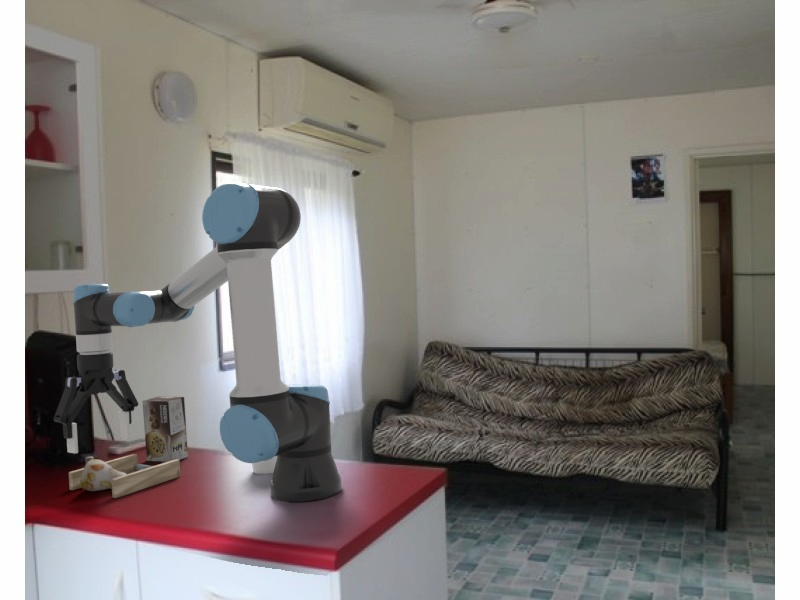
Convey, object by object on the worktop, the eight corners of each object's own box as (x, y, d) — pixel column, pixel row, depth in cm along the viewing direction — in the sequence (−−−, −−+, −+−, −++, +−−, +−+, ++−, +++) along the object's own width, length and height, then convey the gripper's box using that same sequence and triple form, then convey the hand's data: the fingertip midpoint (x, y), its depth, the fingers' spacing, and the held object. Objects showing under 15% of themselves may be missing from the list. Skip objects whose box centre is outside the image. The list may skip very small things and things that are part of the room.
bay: (180, 476, 174) (179, 459, 174) (116, 497, 159) (114, 479, 159) (134, 469, 183) (133, 453, 183) (69, 489, 168) (68, 472, 167)
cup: (291, 465, 179) (289, 417, 179) (278, 475, 170) (275, 424, 170) (257, 465, 181) (254, 417, 181) (242, 475, 172) (239, 425, 172)
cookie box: (189, 456, 194) (185, 396, 193) (172, 463, 188) (168, 400, 187) (162, 454, 197) (158, 395, 197) (145, 461, 192) (141, 399, 191)
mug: (125, 494, 162) (98, 459, 160) (92, 512, 165) (65, 477, 163) (140, 477, 170) (114, 443, 168) (108, 494, 172) (82, 461, 170)
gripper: (130, 346, 177) (134, 432, 178) (32, 358, 156) (38, 456, 157) (150, 346, 173) (155, 435, 174) (53, 359, 152) (59, 460, 153)
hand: (99, 445), depth 166 cm, fingers open, 13 cm apart
